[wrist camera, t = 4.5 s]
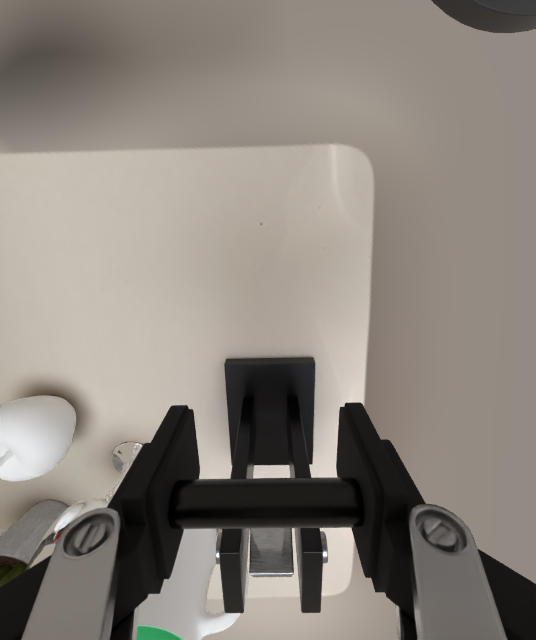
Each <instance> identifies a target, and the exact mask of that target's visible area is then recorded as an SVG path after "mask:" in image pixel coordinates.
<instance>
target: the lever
mask: <svg viewBox="0 0 536 640" xmlns="http://www.w3.org/2000/svg"><path fill="white" fill-rule="evenodd" d="M363 522H364V506H363V499H362V494H361V490H360V487H359V484H358V482H357V480H356V479H355V478H353V477H339V478H259V479H180V480H178V481H177V482H176V483H175V485H174V487H173V490H172V493H171V497H170V503H169V524H170V527H171V528H172V529H244V528H249V529H250V531H251V534H250V569H249V573H250V575H251V576H253V577H291V576H292V575H293V574H294V568H293V548H292V528H340V527H361V526H362V525H363Z"/></svg>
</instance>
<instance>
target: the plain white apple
mask: <svg viewBox="0 0 536 640" xmlns="http://www.w3.org/2000/svg"><path fill="white" fill-rule="evenodd" d="M75 426H76V413H75V410H74V408H73V406H72V405H71V404H70V403H69V402H67V401H66V400H65V399H63V398H61V397H56V396H48V395H41V396H33V397H27V398H20V399H16V400H13V401H10V402H7V403H4V404H2V405H0V478H1V479H4V480H7V481H10V482H14V481H24V480H29V479H33V478H37V477H39V476H42V475H44V474H46V473H47V472H49V471H51V470H52V469H53V468H54V467H55V466H56V465H58V464H59V463H60V462H61V460H62V459H63V458H64V456H65V455H66V454H67V452H68V451H69V448H70V446H71V442H72V439H73V434H74V430H75Z"/></svg>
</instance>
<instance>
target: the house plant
mask: <svg viewBox="0 0 536 640" xmlns="http://www.w3.org/2000/svg"><path fill="white" fill-rule="evenodd" d="M67 508H69V507H68V506H67V505H65V504H63V503H61V502H58V501H53V500H45V501H42V502H40V503H38V504H36V505H35V506H33V507H32V508H31V509H30V510H29V511H28V512H26V513H25V514H24V515H23V516H22V517H21V518H20V519H19V520H18V521H17V522H15V523H14V524H13V525H12V526H11V527H10V528H9V529H8V530H7V531H6V532H4V533H3V534H2V535H1V536H0V587H1V586H2V585H4V584H6V583H7V582H9V581H10V580H12V579H13V578H15V577H17V576H18V575H20V574H21V573H23V572H24V571H25V569H26V567H27V565H28V563H29V561H30V559H31V557H32V555H33V553H34V551H35V549H36V547H37V546H38V544H39V542H40V541H41V539H42V537H43V536H44V534H45V533H46V531H47V530H48V528H49V527H50V526H51V524H52V523H53V522H54V521H55V520H56V519H57V518H58V517H59V516H60V515H61V514H62V513H63V512H64V511H65V510H66V509H67Z"/></svg>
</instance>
